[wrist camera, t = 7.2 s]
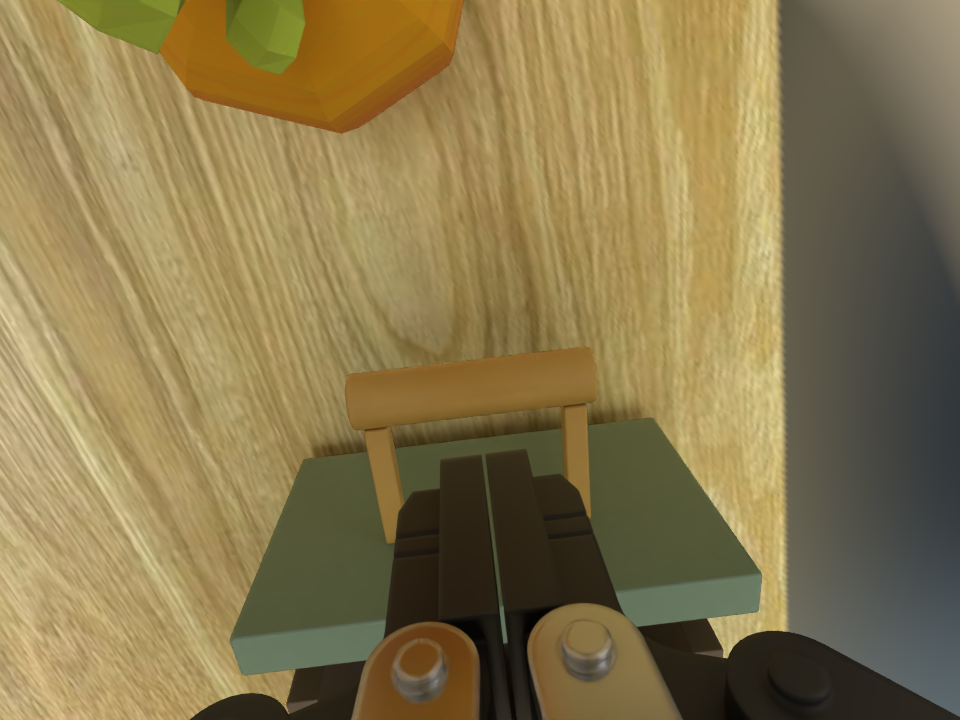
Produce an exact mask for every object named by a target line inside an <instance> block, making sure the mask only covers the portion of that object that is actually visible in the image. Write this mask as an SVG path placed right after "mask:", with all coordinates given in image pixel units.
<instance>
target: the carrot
mask: <svg viewBox="0 0 960 720" xmlns="http://www.w3.org/2000/svg"><path fill="white" fill-rule="evenodd" d="M58 1H59V2H60V3H62V4H63V5H64V6H66V7H67V8H68V9H70V10H71V11H72V12H74V13H75V14H76V15H78V16H79V17H80V18H82V19H83V20H84V21H86V22H87V23H88V24H90V25H91V26H92V27H94V28H95V29H96V30H98V31H100V32H103V33H106V34H108V35H111V36H113V37H116V38H118V39H121V40H123V41H126V42H128V43H131V44H133V45H136V46H138V47H141V48H144V49H146V50H149V51H151V52H154V53H156V54H158V52H160V53H161V55H162V56H163V57H164V59H165V60H166V61H167V63H168V64H169V66H170V67H171V68H172V70H173V71H174V72H175V74H176V75H177V76H178V78H179V79H180V80H181V82H182V83H183V84H184V86H185V87H186V88H187V89H188V90H189V92H190V93H191V94H192V95H193V96H194V97H196V98H199V99H202V100H205V101H209V102H213V103H217V104H222V105H226V106H230V107H234V108H238V109H242V110H246V111H250V112H254V113H259V114H263V115H267V116H271V117H275V118H279V119H283V120H287V121H292V122H296V123H300V124H304V125H308V126H312V127H316V128H320V129H325V130H329V131H333V132H337V133H341V134H342V133H345V132H347V131H350V130H353V129H356V128H359V127H360V126H362V125H363V124H365V123H367V122H368V121H370V120H371V119H373V118H374V117H376V116H377V115H378V114H380V113H381V112H383V111H384V110H386V109H387V108H389V107H390V106H391V105H393V104H394V103H396V102H397V101H399V100H400V99H401V98H403V97H404V96H406V95H407V94H409V93H410V92H412V91H413V90H414V89H416V88H417V87H419V86H420V85H422V84H423V83H425V82H426V81H427V80H429V79H430V78H432V77H433V76H435V75H436V74H438V73H439V72H440V71H442V70H443V69H445V68H446V67H447V66H448V65H449V64H450V62H451V60H452V57H453V54H454V49H455V44H456V39H457V33H458V28H459V23H460V18H461V13H462V8H463V3H464V0H58Z"/></svg>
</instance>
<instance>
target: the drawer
mask: <svg viewBox="0 0 960 720" xmlns="http://www.w3.org/2000/svg"><path fill="white" fill-rule="evenodd" d="M597 393H598V380H597V371H596V365H595V360H594V357H593V354H592V352H591V350H590V348H589V347H586V346H585V347H576V348H568V349H559V350H551V351H542V352H534V353H525V354H517V355H508V356H500V357H491V358H483V359H474V360H466V361H457V362H449V363H440V364H432V365H423V366H415V367H406V368H398V369H389V370H381V371H372V372H364V373H355V374H350V375H348V377H347V380H346V387H345V397H346V407H347V413H348V417H349V421H350V424H351V426H352V428H353V429H354V430H364V429H365V430H364V436H365V441H366V446H367V451H368V452H360V453H351V454H343V455H334V456H326V457H318V458H309V459H304V460H303V462H302V465H301V467H300V469H299V472H298V474H297V477H296V479H295V482H294V484H293V486H292V489H291V491H290V494H289V496H288V499H287V501H286V504H285V506H284V508H283V511H282V513H281V516H280V518H279V521H278V523H277V525H276V528H275V530H274V533H273V535H272V538H271V540H270V542H269V545H268V547H267V550H266V552H265V555H264V557H263V559H262V562H261V564H260V567H259V569H258V572H257V574H256V577H255V579H254V581H253V584H252V586H251V589H250V591H249V594H248V596H247V598H246V601H245V603H244V606H243V608H242V611H241V613H240V615H239V618H238V620H237V623H236V625H235V628H234V630H233V633H232V635H231V637H230V643H231V646H232V648H233V651H234V654H235V657H236V660H237V662H238V665H239V668H240V671H241V673H242V675H252V674H260V673H268V672H276V671H285V670H293V669H296V670H295V674H294V678H293V681H292V685H291V689H290V693H289V696H288V700H287V708H288V711H289V714H290V713H293V712H295V711H297V710H300V709H302V708H304V707H307V706H309V705H311V704H314V703H316V702H318V701H321V700H323V699H325V698H328V697H330V696H332V695H334V694H336V693H338V692H340V691H342V690H343V689H345V688H346V687H348V686H349V685H351V684H352V683H353V682H354V681H356V680H357V679H358V678H359V677H360V676H361V675H362V671H363V668H364V665H365V663H366V661H367V659H368V657H369V655H370V654H371V653H372V651H373V650H374V648H375V647H376V646H377V645H378V644H379V643H380V642H381V641H382V640H383V638H384V633H385V625H386V616H387V607H388V598H389V590H390V581H391V572H392V563H393V559H394V546H395V539H396V528H397V520H398V512H399V511H400V509H401V508H402V506H403V505H404V503H405V502H406V501H407V499H408V498H409V496H410V495H411V493H412V492H413V491H422V490H430V489H438V488H440V459H444V458H453V457H461V456H469V455H477V454H481V455H482V463H483V471H484V479H485V488H486V496H487V504H488V512H489V521H490V529H491V537H492V546H493V555H494V563H495V572H496V581H497V590H498V599H499V608H500V617H501V626H502V635H503V644H504V653H505V662H506V671H507V680H508V689H509V698H510V707H511V715H512V720H517V717H516V709H515V700H514V692H513V684H512V675H511V667H510V659H509V650H508V642H507V634H506V625H505V617H504V608H503V600H502V592H501V583H500V575H499V567H498V558H497V550H496V542H495V533H494V525H493V516H492V508H491V499H490V491H489V482H488V474H487V465H486V457H485V453H493V452H501V451H509V450H518V449H526V450H527V454H528V458H529V462H530V466H531V470H532V474H533V477H536V476H545V475H553V474H561V475H562V476H564V477H565V478H566V479H567V480H568V481H569V482H570V483H571V484H572V485H574V486H575V487H576V488H577V489H578V490H579V492H580V495H581V498H582V500H583V503H584V506H585V509H586V512H587V516H588V517H589V520H590V523H591V526H592V528H593V534H595V537H596V540H597V542H598V545H599V548H600V551H601V554H602V556H603V559H604V562H605V565H606V568H607V571H608V573H609V576H610V579H611V582H612V585H613V587H614V590H615V593H616V596H617V599H618V601H619V604H620V606H621V609H622V611H623V613H624V614H625V616H626V617H627V618H628V619H629V620H630V621H632V622H633V623H634V624H635V626H636V627H637V628H638V629H639V630H640V632H641V633H643V634H644V635H645V636H647V637H649V638H650V639H652V640H653V641H656V642H658V643H660V644H662V645H664V646H667V647H670V648H673V649H676V650H680V651H685V652H690V653H696V654H702V655H708V656H715V657H721V658H723V648H722V646H721V644H720V643H719V641H718V639H717V637H716V635H715V633H714V631H713V629H712V627H711V625H710V623H709V622H708V620H707V618H713V617H721V616H730V615H738V614H746V613H754V612H757V611H758V610H759V601H760V592H761V582H762V574H761V572H760V571H759V569H758V568H757V566H756V565H755V563H754V562H753V561H752V559H751V558H750V556H749V555H748V553H747V552H746V550H745V549H744V548H743V546H742V545H741V543H740V542H739V540H738V539H737V538H736V536H735V535H734V533H733V532H732V530H731V529H730V527H729V526H728V525H727V523H726V522H725V520H724V519H723V517H722V516H721V515H720V513H719V512H718V510H717V509H716V507H715V506H714V505H713V503H712V502H711V500H710V499H709V497H708V496H707V494H706V493H705V492H704V490H703V489H702V487H701V486H700V484H699V483H698V482H697V480H696V479H695V477H694V476H693V474H692V473H691V471H690V470H689V469H688V467H687V466H686V464H685V463H684V461H683V460H682V459H681V457H680V456H679V454H678V453H677V451H676V450H675V448H674V447H673V446H672V444H671V443H670V441H669V440H668V438H667V437H666V436H665V434H664V433H663V431H662V430H661V428H660V427H659V425H658V424H657V423H656V421H655V420H654V418H645V419H637V420H628V421H620V422H611V423H603V424H595V425H587V406H586V404H585V403H591V402H594V401H596V399H597ZM558 406H560V414H561V429H553V430H544V431H536V432H527V433H519V434H511V435H502V436H494V437H486V438H477V439H469V440H460V441H452V442H444V443H435V444H427V445H418V446H410V447H402V448H394V442H393V437H392V431H391V426H398V425H406V424H414V423H423V422H431V421H440V420H448V419H457V418H465V417H473V416H482V415H490V414H499V413H507V412H516V411H524V410H532V409H541V408H549V407H558Z"/></svg>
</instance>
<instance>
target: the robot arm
mask: <svg viewBox="0 0 960 720" xmlns="http://www.w3.org/2000/svg"><path fill="white" fill-rule="evenodd" d="M485 457H486V465H487V474H488V482H489V491H490V499H491V508H492V516H493V525H494V533H495V542H496V550H497V558H498V567H499V575H500V583H501V592H502V600H503V608H504V617H505V625H506V634H507V642H508V650H509V659H510V667H511V675H512V684H513V692H514V700H515V709H516V717H517V720H960V717H959V716H957V715H955V714H953V713H951V712H949V711H947V710H946V709H944V708H942V707H940V706H938V705H936V704H934V703H932V702H931V701H929V700H927V699H925V698H923V697H921V696H919V695H918V694H916V693H914V692H912V691H910V690H908V689H906V688H905V687H903V686H901V685H899V684H897V683H895V682H893V681H892V680H890V679H888V678H886V677H884V676H882V675H880V674H879V673H877V672H875V671H873V670H871V669H869V668H867V667H865V666H864V665H861V664H860V663H858V662H856V661H854V660H852V659H851V658H849V657H847V656H845V655H843V654H841V653H839V652H837V651H836V650H833V649H832V648H830V647H828V646H826V645H825V644H822V643H820V642H818V641H816V640H814V639H811V638H808V637H806V636H803V635H799V634H795V633H790V632H783V631H765V632H759V633H755V634H752V635H749V636H747V637H745V638H744V639H742V640H740V641H739V642H738V643H737V644H736V645H735V646H734V647H733V649H732V650H731V652H730V654H729V657H728V659H727V658H721V657H715V656H708V655H702V654H696V653H690V652H685V651H680V650H676V649H673V648H670V647H667V646H664V645H662V644H660V643H658V642H656V641H653V640H652V639H650V638H649V637H647V636H645V635H644V634H643V633H641V632H640V630H639V629H638V628H637V627H636V626H635V624H634V623H633V622H632V621H630V620H629V619H628V618H627V617H626V616H625V614H624V613H623V611H622V609H621V606H620V604H619V601H618V599H617V596H616V593H615V590H614V587H613V585H612V582H611V579H610V576H609V573H608V571H607V568H606V565H605V562H604V559H603V556H602V554H601V551H600V548H599V545H598V542H597V540H596V537H595V534H593V528H592V526H591V523H590V520H589V517H588V516H587V512H586V509H585V506H584V503H583V500H582V498H581V495H580V492H579V490H578V489H577V488H576V487H575V486H574V485H572V484H571V483H570V482H569V481H568V480H567V479H566V478H565V477H564V476H562V475H561V474H553V475H545V476H536V477H533V474H532V470H531V466H530V462H529V458H528V454H527V450H526V449H518V450H509V451H501V452H493V453H485ZM190 720H512V715H511V707H510V698H509V689H508V680H507V671H506V662H505V653H504V644H503V635H502V626H501V617H500V608H499V599H498V590H497V581H496V572H495V563H494V555H493V546H492V537H491V529H490V521H489V512H488V504H487V496H486V488H485V479H484V471H483V463H482V455H481V454H477V455H469V456H461V457H453V458H444V459H440V488H438V489H430V490H422V491H413V492H412V493H411V495H410V496H409V498H408V499H407V501H406V502H405V503H404V505H403V506H402V508H401V509H400V511H399V512H398V520H397V528H396V539H395V546H394V559H393V563H392V572H391V581H390V590H389V598H388V607H387V616H386V625H385V633H384V638H383V640H382V641H381V642H380V643H379V644H378V645H377V646H376V647H375V648H374V650H373V651H372V653H371V654H370V655H369V657H368V659H367V661H366V663H365V665H364V668H363V671H362V675H361V676H360V677H359V678H358V679H357V680H356V681H354V682H353V683H352V684H351V685H349V686H348V687H346V688H345V689H343V690H342V691H340V692H338V693H336V694H334V695H332V696H330V697H328V698H325V699H323V700H321V701H318V702H316V703H314V704H311V705H309V706H307V707H304V708H302V709H300V710H297V711H295V712H293V713H290V714H288V713H287V711H286V710H285V708H284V706H283V705H282V704H281V703H279V702H278V701H277V700H275V699H274V698H272V697H270V696H267V695H263V694H255V693H249V694H240V695H236V696H231V697H228V698H226V699H223V700H220V701H218V702H216V703H214V704H212V705H210V706H208V707H207V708H205V709H204V710H202V711H201V712H199V713H198V714H196V715H195V716H194V717H193V718H191V719H190Z"/></svg>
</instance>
